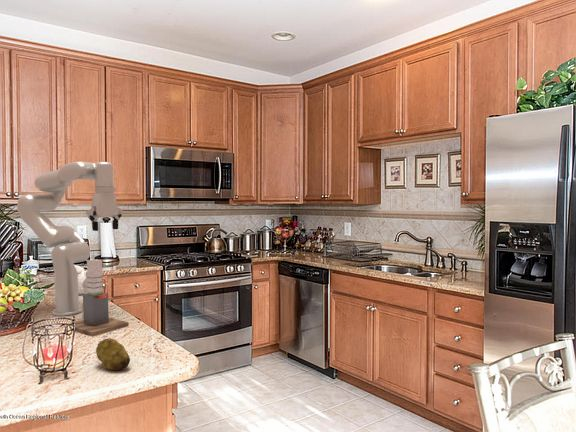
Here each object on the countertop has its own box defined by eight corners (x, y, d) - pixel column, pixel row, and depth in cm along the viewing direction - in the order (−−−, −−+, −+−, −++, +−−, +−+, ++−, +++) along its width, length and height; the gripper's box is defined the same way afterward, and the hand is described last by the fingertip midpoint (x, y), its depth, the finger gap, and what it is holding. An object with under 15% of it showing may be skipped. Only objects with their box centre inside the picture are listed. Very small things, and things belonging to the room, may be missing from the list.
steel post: (88, 308, 180) (86, 260, 179) (97, 306, 183) (96, 259, 182) (94, 309, 178) (92, 261, 177) (103, 307, 181) (102, 259, 180)
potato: (102, 376, 131) (102, 349, 130) (94, 363, 142) (93, 338, 141) (132, 370, 135) (131, 344, 135) (121, 357, 146) (121, 333, 146)
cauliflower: (47, 282, 230) (65, 256, 239) (51, 292, 245) (68, 266, 254) (84, 298, 233) (100, 271, 242) (86, 306, 248) (101, 281, 256)
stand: (63, 327, 180) (62, 294, 179) (99, 318, 193) (98, 287, 192) (92, 336, 169) (91, 301, 168) (128, 325, 182) (127, 293, 181)
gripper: (116, 190, 203) (117, 228, 204) (80, 190, 189) (82, 231, 189) (127, 190, 199) (128, 228, 200) (91, 190, 184) (92, 231, 185)
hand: (105, 229), depth 195 cm, fingers open, 9 cm apart
